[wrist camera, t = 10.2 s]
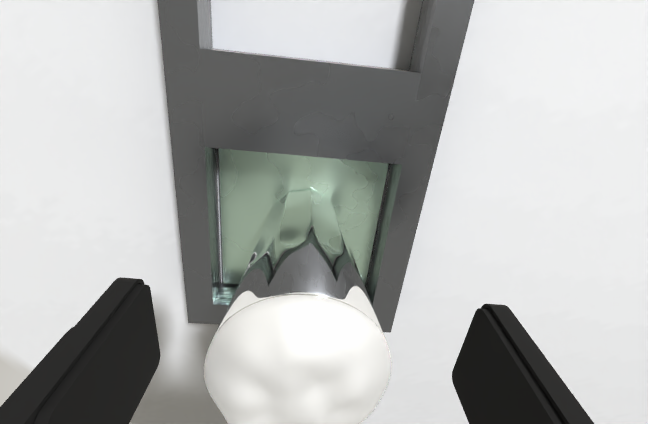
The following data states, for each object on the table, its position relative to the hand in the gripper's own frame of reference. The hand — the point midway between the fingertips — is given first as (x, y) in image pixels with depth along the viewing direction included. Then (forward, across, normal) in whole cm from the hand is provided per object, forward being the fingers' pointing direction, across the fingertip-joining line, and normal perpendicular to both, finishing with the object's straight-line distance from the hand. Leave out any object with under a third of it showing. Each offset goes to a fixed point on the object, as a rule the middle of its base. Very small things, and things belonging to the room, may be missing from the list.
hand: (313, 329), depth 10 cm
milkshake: (+7, 0, 0) cm, 7 cm away
